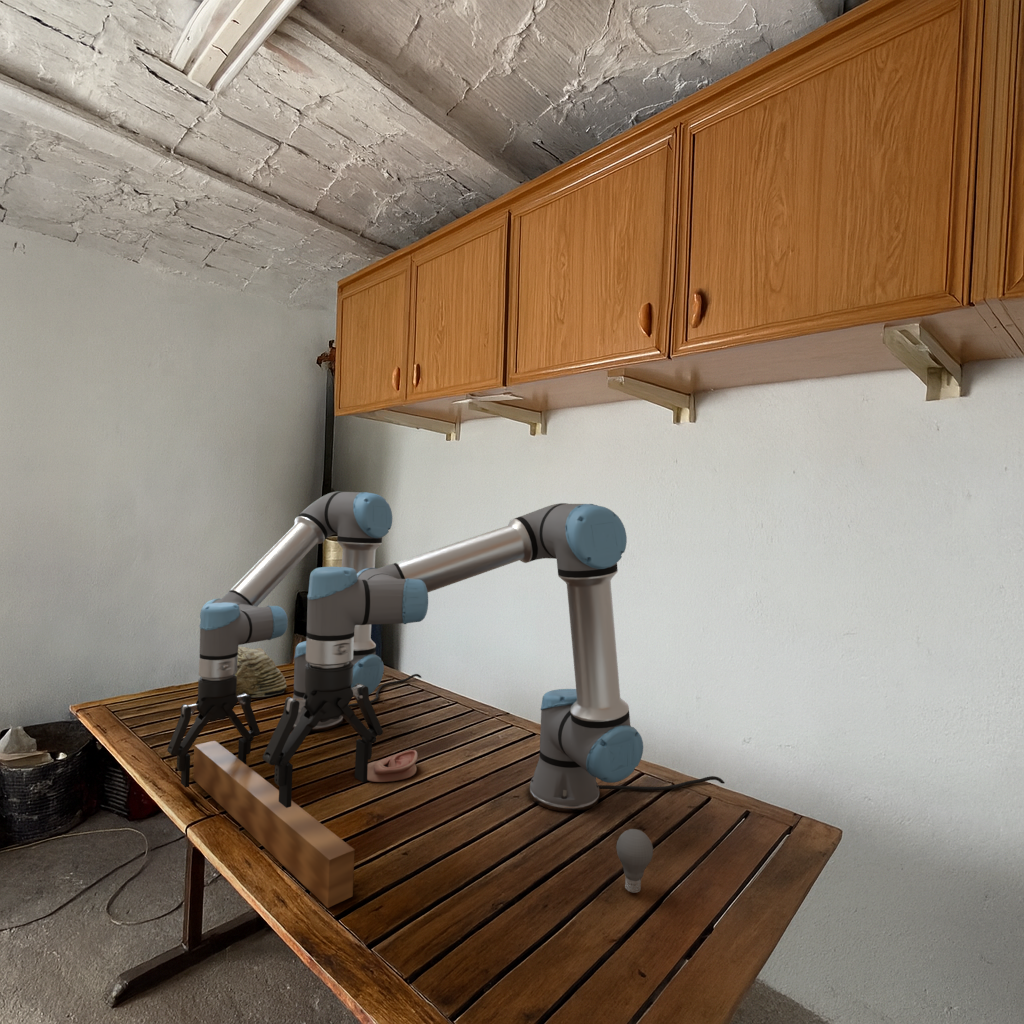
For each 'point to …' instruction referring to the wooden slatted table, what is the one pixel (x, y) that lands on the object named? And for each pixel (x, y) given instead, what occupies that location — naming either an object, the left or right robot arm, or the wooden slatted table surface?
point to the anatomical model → (393, 767)
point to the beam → (277, 824)
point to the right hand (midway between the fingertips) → (324, 791)
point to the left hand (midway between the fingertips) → (214, 777)
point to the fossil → (258, 674)
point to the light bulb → (634, 857)
